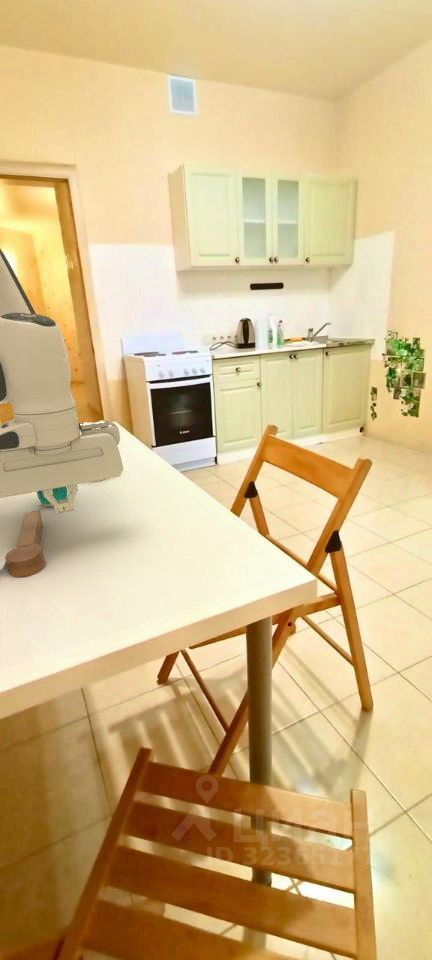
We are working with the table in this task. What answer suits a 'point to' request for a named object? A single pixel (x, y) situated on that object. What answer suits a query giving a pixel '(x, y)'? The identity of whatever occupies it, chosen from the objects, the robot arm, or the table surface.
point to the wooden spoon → (27, 548)
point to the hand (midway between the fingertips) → (64, 511)
